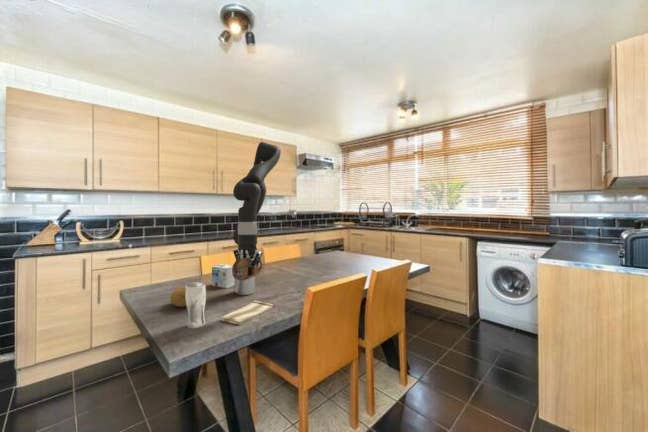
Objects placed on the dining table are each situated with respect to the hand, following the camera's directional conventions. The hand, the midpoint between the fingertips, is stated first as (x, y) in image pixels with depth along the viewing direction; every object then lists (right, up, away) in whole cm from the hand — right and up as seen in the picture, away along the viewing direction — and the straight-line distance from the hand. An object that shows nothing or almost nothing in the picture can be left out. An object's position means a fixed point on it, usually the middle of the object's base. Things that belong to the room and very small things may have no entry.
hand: (247, 275), depth 111 cm
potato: (-31, -15, +9) cm, 35 cm away
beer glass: (-16, -16, -11) cm, 25 cm away
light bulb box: (-24, -14, +39) cm, 48 cm away
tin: (0, -1, 0) cm, 1 cm away
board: (0, -16, 0) cm, 16 cm away
